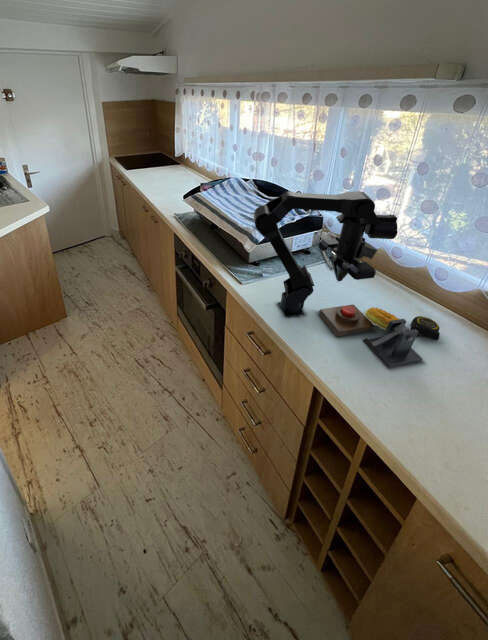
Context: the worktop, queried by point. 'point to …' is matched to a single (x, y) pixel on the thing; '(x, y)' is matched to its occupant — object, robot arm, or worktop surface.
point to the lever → (385, 338)
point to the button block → (346, 321)
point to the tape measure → (426, 327)
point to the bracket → (398, 346)
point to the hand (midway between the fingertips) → (338, 280)
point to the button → (348, 311)
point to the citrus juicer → (327, 236)
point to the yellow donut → (379, 317)
